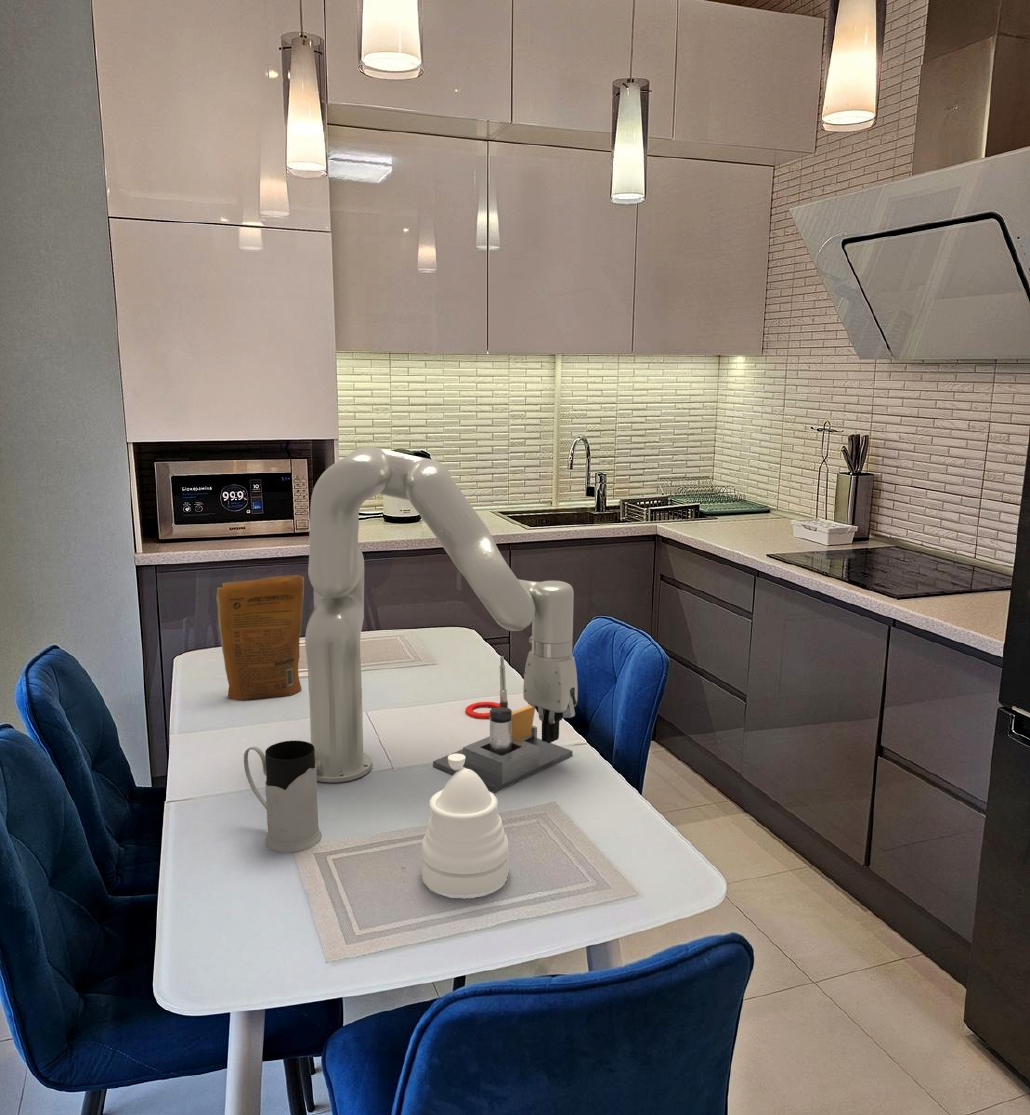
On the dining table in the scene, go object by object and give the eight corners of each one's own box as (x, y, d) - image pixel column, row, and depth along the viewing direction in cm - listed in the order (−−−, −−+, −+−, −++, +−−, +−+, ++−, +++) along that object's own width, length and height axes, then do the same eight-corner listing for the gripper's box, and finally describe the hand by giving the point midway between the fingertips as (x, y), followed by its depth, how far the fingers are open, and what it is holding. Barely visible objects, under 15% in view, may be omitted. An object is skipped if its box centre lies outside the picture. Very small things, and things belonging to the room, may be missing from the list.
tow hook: (463, 720, 194) (506, 720, 194) (460, 663, 192) (504, 662, 191) (467, 706, 202) (508, 706, 202) (465, 651, 200) (506, 650, 199)
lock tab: (505, 750, 176) (510, 716, 173) (501, 747, 176) (507, 713, 174) (531, 738, 181) (536, 705, 179) (527, 736, 182) (533, 703, 179)
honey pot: (404, 873, 134) (402, 760, 131) (468, 843, 143) (469, 736, 139) (461, 910, 125) (461, 789, 122) (526, 875, 134) (528, 762, 130)
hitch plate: (494, 793, 160) (494, 766, 159) (433, 766, 170) (432, 741, 169) (572, 755, 176) (573, 731, 175) (511, 733, 186) (512, 710, 185)
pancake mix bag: (310, 696, 206) (305, 576, 200) (222, 705, 200) (215, 582, 194) (306, 687, 212) (302, 570, 206) (221, 695, 206) (214, 575, 200)
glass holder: (295, 858, 138) (291, 766, 135) (228, 834, 145) (223, 746, 142) (333, 833, 145) (330, 746, 142) (267, 812, 152) (263, 728, 149)
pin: (500, 773, 165) (501, 717, 163) (485, 767, 168) (485, 711, 166) (515, 767, 168) (516, 711, 166) (499, 760, 171) (500, 705, 169)
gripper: (508, 643, 170) (507, 735, 174) (570, 661, 160) (568, 757, 164) (535, 635, 176) (533, 724, 179) (596, 651, 166) (593, 745, 169)
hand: (550, 740), depth 172 cm, fingers closed
